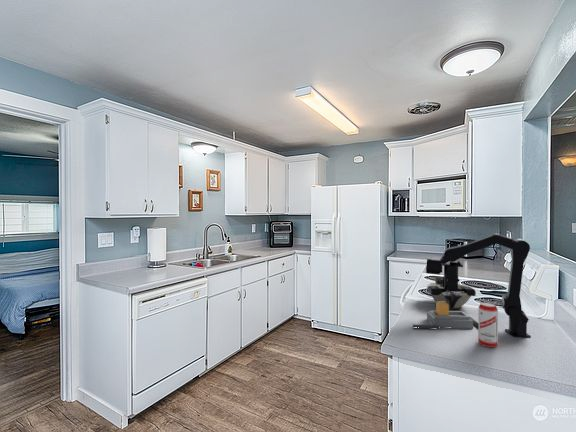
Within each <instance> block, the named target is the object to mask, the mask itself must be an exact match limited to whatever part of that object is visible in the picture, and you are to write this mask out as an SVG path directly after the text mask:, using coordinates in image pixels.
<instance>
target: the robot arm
mask: <svg viewBox="0 0 576 432" xmlns="http://www.w3.org/2000/svg"><path fill="white" fill-rule="evenodd" d="M493 245H500V246H503V247H505V248H508V249H509V251H510V258H511V261H510V263H511V264H510V272H509V279H508V281H509V282H508V287H507V292H506V295H504V294H501V302H500V305H501V308H502V309H503V311H504V313H505V314H506V315H507V316H508V328H505V329H504V331H505V332H507V333H508V334H509V335H511V336H512V337H514V338H531V335H530V334H529V333H528V332H527V331H528V330H527V329H528V322H529V320H530V319H529V317H528V315H527V314H526V313H525V311H524V310H523V308H522V302H521V301H522V300H521V296H520V295H521V288H522V279H523V272H524V264H525V262H526V259H527V257H528V255H529V252H530V250H531V246H530V243H528V242H527V241H526V240H524V239H522V238H511V237H508V236H505V235H501V234H499V233H492V234H491V235H488V236H486V237H483V238H480V239H478V240H477V239H476V240H474V241H471V242H468V243H466V244H461V245H456V246H450V247H447V248H445V250H444V252H443V255H442V256H441V257H440V258H439V259H432V258H426V267H425V273H426V274H430V275H431V274H432V275H441V273H443V276H442V278H441V277H435V282H434V283H436V285H440V287H444V288H439V287H437V286H429V287H428V289H427V293H428V294H430V295H431V296H432V295H440V294H442V295H443V296H444V297H445V298H446V300H447V303H448V305H449V311H453V309H454V308H453V307H454V306H455V304H456V302H457V301H458V299H459V298H461V297H462V296H461V295H460V294H461V293H466V294H467V295H468V296H471V297H473V296H474V297H476V296H477V295H476V294H477V292H476V290H475V288H473V287H471V286H468V287H465V286H466V285H465V286H462V287H461V289H459V288H458V284H459V283H460V278H459V268H463V267H464V264H463V263H462V262H461V261H460V259H462V258H464V257H465V256H466V255H468V254H470V253H473V252H476V251H480V250H482V249H485V248H488V247H492V246H493ZM447 290H448V291H447Z"/></svg>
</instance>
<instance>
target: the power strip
mask: <svg viewBox="0 0 576 432" xmlns="http://www.w3.org/2000/svg"><path fill="white" fill-rule="evenodd" d="M470 317H471V316H469V315H468V314H467V313H466V312H464V311H463V310H449V315H437V314H436V310H429V311H426V319H427V320H429V321H430V322H431V323H432V324H433V325H438V326H439V327H451V328H450V329H465V328H469V329H468V330H470V329H472V330H473V329H474V324H473V320H471V318H472V317H471V318H470ZM429 321H428V322H429ZM430 322H429V323H430ZM431 323H430V324H431ZM432 324H431V325H432Z"/></svg>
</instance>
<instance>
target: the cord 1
mask: <svg viewBox="0 0 576 432" xmlns="http://www.w3.org/2000/svg"><path fill="white" fill-rule="evenodd" d="M413 327H417V328H418V327H419V328H437V329H436V330H439V329H440V328H439V326H438V325H432V324H412V328H413Z"/></svg>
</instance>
